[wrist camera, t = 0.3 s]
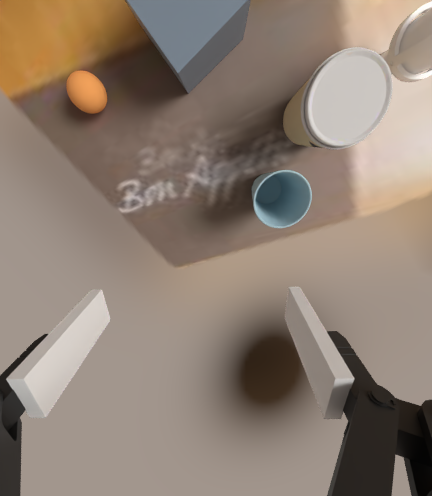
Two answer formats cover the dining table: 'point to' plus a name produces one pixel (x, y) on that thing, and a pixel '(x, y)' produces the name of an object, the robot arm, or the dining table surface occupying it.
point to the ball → (86, 92)
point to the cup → (281, 198)
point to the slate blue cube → (192, 32)
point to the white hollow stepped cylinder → (412, 47)
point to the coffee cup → (340, 101)
